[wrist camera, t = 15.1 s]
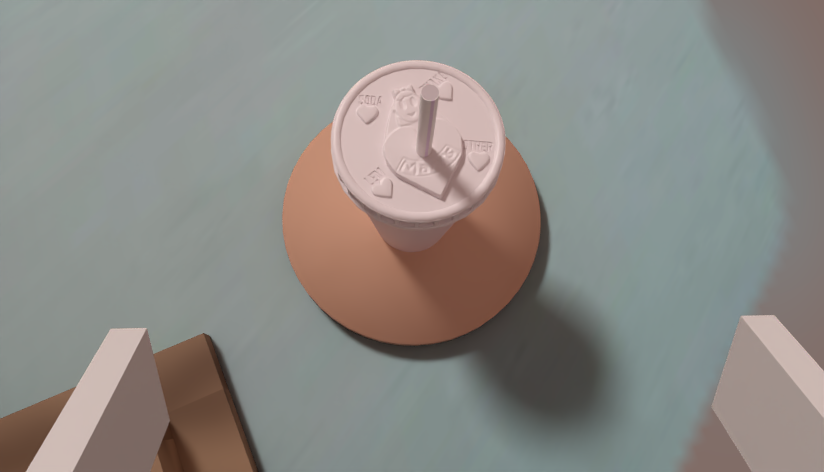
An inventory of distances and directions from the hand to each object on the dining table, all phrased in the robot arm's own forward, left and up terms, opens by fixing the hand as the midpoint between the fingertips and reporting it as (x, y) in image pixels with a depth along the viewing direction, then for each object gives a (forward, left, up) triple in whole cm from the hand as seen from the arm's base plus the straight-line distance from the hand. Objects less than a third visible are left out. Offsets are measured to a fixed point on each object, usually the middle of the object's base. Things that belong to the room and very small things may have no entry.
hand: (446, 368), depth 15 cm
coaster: (-8, +3, -17) cm, 19 cm away
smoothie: (-8, +3, -16) cm, 18 cm away
